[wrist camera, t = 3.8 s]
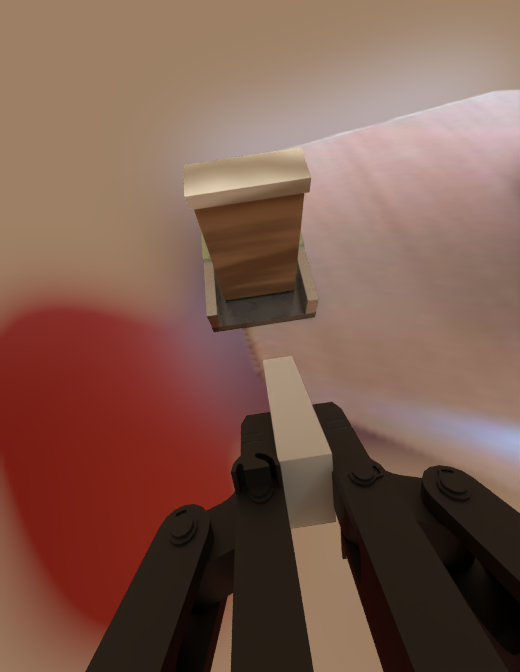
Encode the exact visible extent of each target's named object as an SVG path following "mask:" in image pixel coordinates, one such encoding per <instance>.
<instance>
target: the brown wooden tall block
mask: <svg viewBox="0 0 520 672" xmlns="http://www.w3.org/2000/svg"><path fill="white" fill-rule="evenodd" d="M310 183H311V176H310V173H309V170H308V167H307V164H306V161H305V158H304V155H303V152H302V149H301V147H300V148H293V149H287V150H280V151H274V152H267V153H261V154H254V155H248V156H241V157H234V158H228V159H222V160H215V161H208V162H201V163H194V164H188V165H184V194H185V199H186V202H187V205H188V208H189V210H194V211H195V214H196V217H197V219H198V222H199V225H200V228H201V231H202V234H203V237H204V240H205V243H206V246H207V249H208V252H209V255H210V258H211V261H212V263H213V266H214V269H215V272H216V275H217V278H218V281H219V284H220V287H221V290H222V293H223V296H224V299H225V301H226V300H232V299H239V298H245V297H252V296H259V295H265V294H272V293H278V292H285V291H292V290H295V281H296V271H297V261H298V251H299V241H300V231H301V220H302V210H303V200H304V193H307V192H309V191H310Z"/></svg>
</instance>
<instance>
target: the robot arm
mask: <svg viewBox="0 0 520 672" xmlns="http://www.w3.org/2000/svg"><path fill="white" fill-rule="evenodd" d="M263 365H264V372H265V378H266V385H267V392H268V398H269V405H270V411H271V412H268V413H261V414H255V415H248V416H246V418H245V419H244V421H243V423H242V425H241V456H240V457H239V458H238V459H237V460H236V461H235V463H234V464H233V467H232V471H231V475H232V479H233V483H234V487H235V492H234V494H233V495H232V496H231V497H230V498H229V499H227V500H226V501H224V502H223V503H221V504H219V505H217V506H215V507H213V508H211V509H209V510H207V511H206V510H205V509H204V508H203V507H201V506H198V505H195V504H192V505H185V506H182V507H180V508H179V509H176V510H175V511H173V512H172V513H171V514H170V515H169V516H168V517H166V519H165V520H164V522H163V523H162V525H161V526H160V528H159V529H158V531H157V533H156V536H155V537H154V539H153V541H152V543H151V545H150V547H149V549H148V551H147V553H146V555H145V557H144V559H143V561H142V563H141V565H140V566H139V568H138V570H137V573H136V574H135V576H134V578H133V580H132V582H131V584H130V586H129V588H128V590H127V592H126V594H125V596H124V598H123V600H122V602H121V604H120V606H119V608H118V609H117V611H116V613H115V615H114V617H113V619H112V621H111V623H110V625H109V627H108V629H107V631H106V633H105V635H104V637H103V639H102V641H101V643H100V645H99V646H98V648H97V650H96V652H95V654H94V656H93V658H92V660H91V662H90V664H89V666H88V668H87V670H86V672H210V671H211V667H212V662H213V658H214V653H215V649H216V644H217V640H218V636H219V631H220V627H221V623H222V619H223V614H224V610H225V605H226V601H227V597H228V596H229V595H230V594H232V593H233V619H232V652H231V672H314V671H313V665H312V658H311V652H310V646H309V640H308V634H307V628H306V622H305V616H304V609H303V603H302V597H301V591H300V584H299V578H298V572H297V566H296V560H295V553H294V547H293V541H292V535H291V528H298V527H305V526H312V525H318V524H325V523H331V522H336V515H337V518H338V521H339V524H340V527H341V544H342V557H343V559H348V562H349V565H350V569H351V571H352V575H353V578H354V581H355V584H356V587H357V590H358V594H359V597H360V600H361V603H362V606H363V609H364V612H365V615H366V619H367V622H368V625H369V628H370V631H371V634H372V637H373V640H374V643H375V647H376V649H377V653H378V656H379V659H380V662H381V665H382V668H383V672H520V513H519V512H517V511H516V510H515V509H513V508H512V507H511V506H509V505H508V504H507V503H506V502H504V501H503V500H501V499H500V498H499V497H498V496H496V495H495V494H494V493H492V492H491V491H490V490H489V489H487V488H486V487H485V486H483V485H482V484H481V483H479V482H478V481H477V480H476V479H474V478H473V477H471V476H470V475H468V474H466V473H465V472H463V471H461V470H458V469H455V468H452V467H449V466H440V465H438V466H433V467H429V468H428V469H427V470H425V471H424V473H423V477H422V478H418V477H410V476H403V475H398V474H393V473H390V472H388V471H385V469H384V468H383V467H382V466H381V465H380V464H378V463H377V462H375V461H373V460H372V459H371V458H370V457H369V456H368V454H367V452H366V450H365V449H364V447H363V445H362V444H361V442H360V440H359V438H358V437H357V435H356V433H355V431H354V430H353V428H352V427H351V424H350V423H349V421H348V420H347V417H346V416H345V414H344V412H343V411H342V409H341V408H340V407H338V406H337V405H336V404H334V403H333V402H328V403H321V404H315V405H312V404H311V401H310V399H309V396H308V394H307V391H306V389H305V387H304V384H303V382H302V379H301V377H300V374H299V372H298V370H297V367H296V365H295V362H294V360H293V357H292V356H287V357H280V358H274V359H267V360H263ZM335 512H336V515H335ZM346 556H347V557H346Z"/></svg>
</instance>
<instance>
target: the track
mask: <svg viewBox="0 0 520 672" xmlns="http://www.w3.org/2000/svg"><path fill="white" fill-rule="evenodd" d="M201 240H202V256H203V262H204V279H205V294H206V295H205V296H206V312H207V318H208V320H209V321H210V324H211V326H212V329H213V331H214V332H219V331H225V330H232V329H239V328H246V327H252V326H259V325H265V324H272V323H278V322H285V321H292V320H298V319H305V318H311V317H315V314H316V307H317V303H318V296H317V292H316V289H315V285H314V281H313V278H312V274H311V270H310V267H309V263H308V259H307V256H306V252H305V248H304V241H303V238H302V234H301V231H300V241H299V251H298V261H297V271H296V281H295V290H292V291H285V292H278V293H272V294H265V295H259V296H252V297H245V298H239V299H232V300H226V301H225V299H224V296H223V293H222V290H221V287H220V284H219V281H218V278H217V275H216V272H215V269H214V266H213V263H212V261H211V258H210V255H209V252H208V249H207V246H206V243H205V240H204V237H203V234H202V231H201Z"/></svg>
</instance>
